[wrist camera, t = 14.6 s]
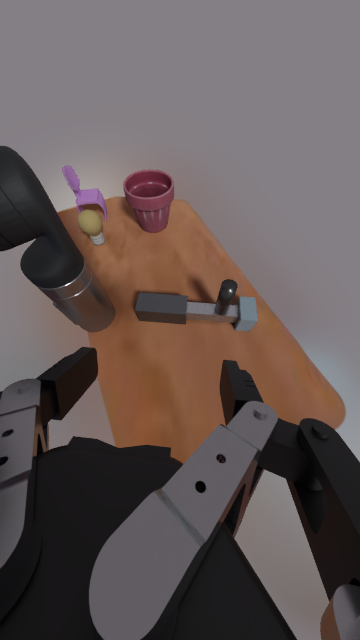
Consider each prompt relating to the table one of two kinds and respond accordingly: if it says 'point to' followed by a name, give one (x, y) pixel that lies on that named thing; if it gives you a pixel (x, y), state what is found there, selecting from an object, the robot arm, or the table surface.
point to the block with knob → (217, 306)
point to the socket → (246, 314)
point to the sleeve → (161, 308)
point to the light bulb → (91, 225)
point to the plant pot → (150, 198)
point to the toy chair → (83, 191)
